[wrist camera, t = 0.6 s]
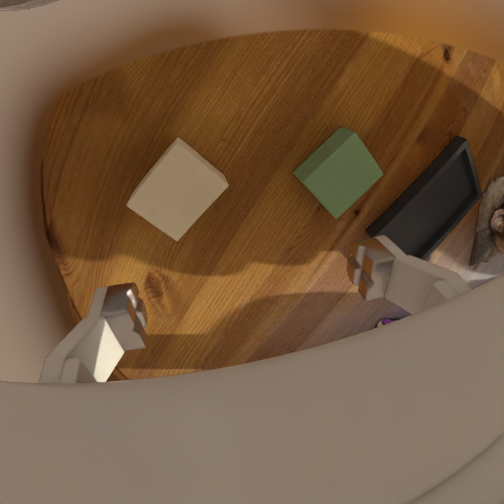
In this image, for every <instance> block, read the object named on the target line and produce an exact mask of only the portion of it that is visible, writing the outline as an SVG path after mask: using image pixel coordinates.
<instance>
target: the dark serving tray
mask: <svg viewBox="0 0 504 504" xmlns="http://www.w3.org/2000/svg"><path fill="white" fill-rule="evenodd" d="M481 196H482V192H481V188H480V184H479V180H478V176H477V172H476V169H475V165H474V162H473V158H472V155H471V152H470V148H469V145H468V142H467V140H466V139H464V138H462V137H459V136H456V138H455V139H454V140H453V141H452V142H451V143H450V144H449V145H448V147H447V148H446V149H445V150H444V151H443V152H442V153H441V154H440V155H439V156H438V157H437V159H436V160H435V161H434V162H433V163H432V164H431V165H430V166H429V167H428V168H427V169H426V170H425V171H424V172H423V174H422V175H421V176H420V177H419V178H418V179H417V180H416V181H415V182H414V183H413V184H412V185H411V186H410V187H409V188H408V189H407V190H406V191H405V192H404V193H403V194H402V195H401V196H400V197H399V198H398V199H397V200H396V201H395V202H394V203H393V204H392V205H391V206H390V207H389V208H388V209H387V210H386V211H385V212H384V213H383V214H382V215H381V216H380V217H379V218H378V219H377V220H376V221H375V222H374V223H373V224H372V225H371V226H370V227H369V228H368V229H367V230H366V232H367V233H368V234H369V236H370V237H371V238H373V237H377V236H382V235H384V236H387V237H388V238H389V239H390V240H391V241H392V242H393V243H394V244H395V245H396V246H397V247H398V248H399V249H401V250H402V251H403V252H404V253H405V254H406V255H407V256H408V255H411V256H414V257H416V258H419V259H422V260H425V259H426V258H427V257H428V256H429V255H430V253H431V252H432V251H433V250H434V249H435V248H436V247H437V246H438V245H439V244H440V243H441V242H442V241H443V240H444V239H445V238H446V237H447V236H448V234H449V233H450V232H451V231H452V230H453V229H454V228H455V227H456V226H457V224H458V223H459V222H460V221H461V220H462V219H463V218H464V216H465V215H466V214H467V213H468V212H469V210H470V209H471V208H472V207H473V206H474V204H475V203H476V202H477V201H478V200H479V198H480V197H481Z"/></svg>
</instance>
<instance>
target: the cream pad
mask: <svg viewBox="0 0 504 504" xmlns="http://www.w3.org/2000/svg"><path fill="white" fill-rule="evenodd" d="M228 186H229V185H228V183H227V180H226V178H225V175H223V174H222V173H221V172H220V171H219V170H218V169H216V168H215V167H214V166H213V165H212V164H210V163H209V162H208V161H207V160H206V159H204V158H203V157H202V156H201V155H200V154H198V153H197V152H196V151H195V150H194V149H192V148H191V147H190V146H189V145H188V144H186V143H185V142H184V141H183V140H181V139H180V138H179V137H177V139H176V140H175V141H174V142H173V143H172V144H171V145H170V147H169V148H168V149H167V150H166V151H165V152H164V154H163V155H162V156H161V157H160V158H159V160H158V161H157V162H156V163H155V164H154V166H153V167H152V168H151V169H150V171H149V172H148V173H147V174H146V176H145V177H144V178H143V179H142V181H141V182H140V183H139V185H138V186H137V187H136V189H135V190H134V191H133V192H132V194H131V196H130V198H129V200H128V203H127V205H126V206H127V207H129V208H130V209H131V210H133V211H134V212H136V213H137V214H138V215H140V216H141V217H143V218H144V219H146V220H147V221H148V222H150V223H151V224H153V225H154V226H156V227H157V228H158V229H160V230H161V231H163V232H164V233H166V234H167V235H168V236H170V237H171V238H173V239H174V240H176V241H178V240H179V239H180V238H181V237H182V236H183V235H184V234H185V232H186V231H187V230H188V229H189V228H190V227H191V226H192V225H193V224H194V222H195V221H196V220H197V219H198V218H199V217H200V216H201V215H202V214H203V213H204V212H205V211H206V209H207V208H208V207H209V206H210V205H211V204H212V203H213V202H214V201H215V200H216V199H217V198H218V197H219V196H220V195H221V194H222V192H223V191H224V190H225V189H226V188H227V187H228Z"/></svg>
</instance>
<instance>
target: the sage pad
mask: <svg viewBox="0 0 504 504" xmlns="http://www.w3.org/2000/svg"><path fill="white" fill-rule="evenodd" d="M293 174H294V175H295V176H296V177H297V178H298V179H299V180H300V181H301V182H302V184H303V185H304V186H305V187H306V188H307V189H308V190H309V191H310V192H311V193H312V194H313V195H314V196H315V197H316V199H317V200H318V201H319V202H320V203H321V204H322V205H323V206H324V207H325V208H326V209H327V210H328V211H329V212H330V213H331V214H332V215H333V216H334V217H335V218H336V219H338V218H339V217H340V216H341V215H342V214H343V213H344V212H345V211H346V210H347V209H348V208H349V207H350V206H351V205H352V204H353V203H354V202H356V201H357V200H358V199H359V198H360V197H361V196H362V195H363V194H364V193H365V192H366V191H367V190H368V189H369V188H370V187H371V186H372V185H373V184H374V183H375V182H376V181H377V180H378V179H379V178H380V177H381V176H382V175H383V172H382V171H381V169H380V168H379V166H378V164H377V163H376V161H375V160H374V158H373V157H372V155H371V154H370V152H369V151H368V149H367V148H366V146H365V145H364V143H363V142H362V141H361V139H360V138H359V136H358V135H357V134H356V132H354V131H351V130H348V129H346V128H343V127H340V128H339V129H338V130H337V131H336V132H335V133H334V134H333V135H331V136H330V137H329V138H328V139H327V140H326V141H325V142H324V143H323V144H322V145H321V146H320V147H319V148H318V149H317V150H316V151H314V152H313V153H312V154H311V155H310V156H309V157H308V158H307V159H306V160H305V161H304V162H303V163H302V164H301V165H300V166H299V167H298V168H297V169H296V170H295V171H294V172H293Z"/></svg>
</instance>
